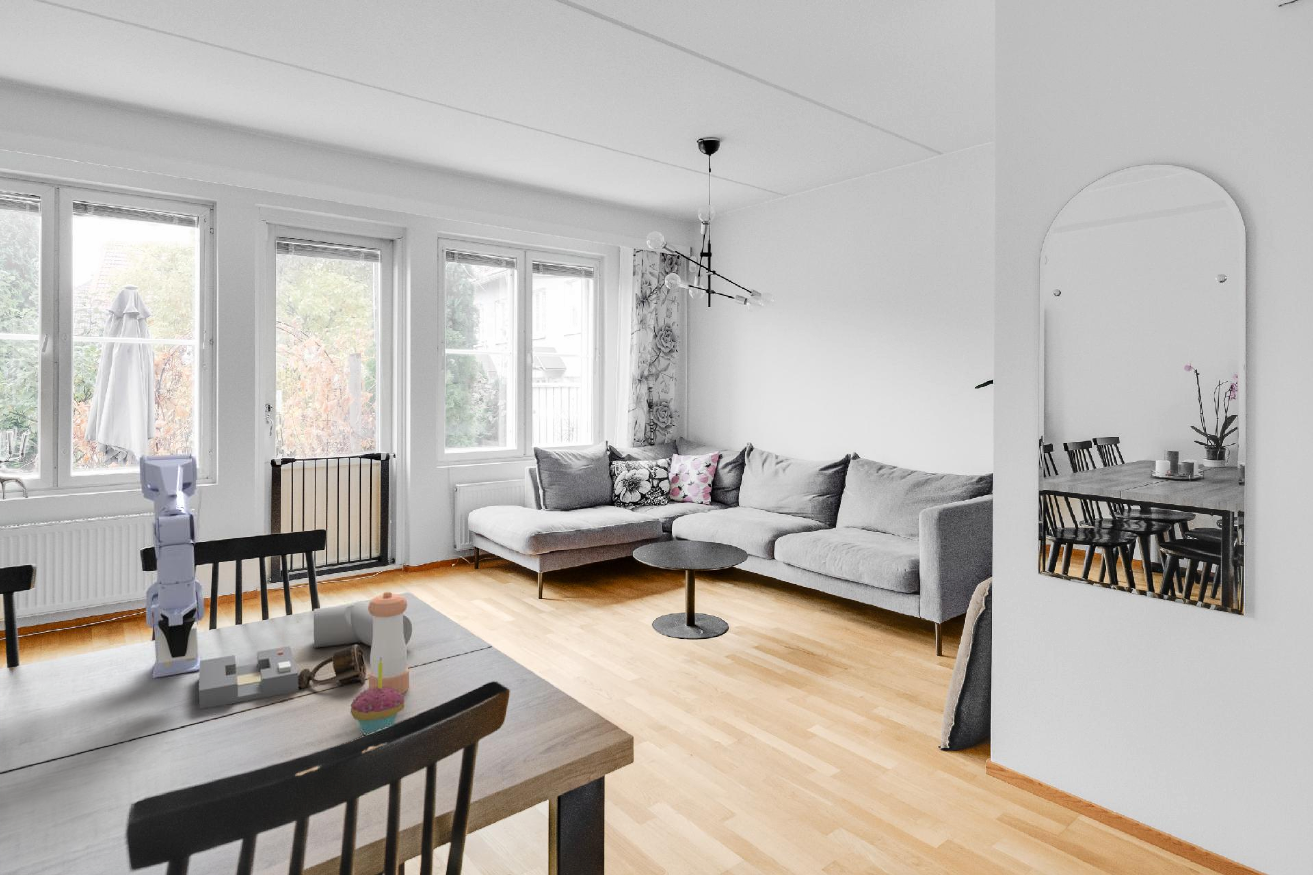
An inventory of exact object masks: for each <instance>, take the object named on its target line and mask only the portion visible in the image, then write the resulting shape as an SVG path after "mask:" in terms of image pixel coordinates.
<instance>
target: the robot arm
mask: <svg viewBox="0 0 1313 875" xmlns="http://www.w3.org/2000/svg"><path fill="white" fill-rule="evenodd" d="M197 465H198V464H197V455H196V454H194V453H192V452H191V453H188V454H187V453H184V454H164V455H163V454H160V455H159V454H158V455H145V454H144V455H141V457H139V476H140V479H139V480H140V484H141V493H142V494H143V498H145V499H147V500H150V501H152V502H153V508H154V509H153V510H154V519H153V520H152V522H151V523H152V540H153V542H152V543H153V547H154V550H155V551H154V552H155V559H156V573H157V575H156V576H157V577H156V578H157V581H155V582H154V583H153V584H151V585H150V586H149V587H147V590H146V592H145V598H146V599H145V617H146V618H145V621H146V626H147V627H149V629H152V628H153V632H154V648H155V649H154V650H155V660H154V668H153V673H152V678H154V679H155V678H161V677H167V676H172V675H179V674H184V673H190V672H196V671H200V661H202V659H201V658H202V653H199V652H198V657H196V660H191V661H186V659H183V660H177V661H171V662H170V667H165V662H164V663H158V644H157V632H158V628H160V629H161V631H162V632H163V634H164V635H165V638H166V640H167V643H168V647H169V651H170V654H171V656H172V658H175V657H182V656H185V655H186V652H187V646H188V638H189V634H190V631H191V628H192V626H193V624H194V622H197V626H198V625H199V621H202V620H203V618H204V617H205V602H204V599H205V598H204V592H203V585H202V584H201V583H200V581H199V580H197V579H196V578H195V577H196V575H195V550H194V549H195V548H194V545H196V541H197V525H196V523H197V522H196V518H195V515H194V513H193V511H192V509H191V503H190V502H191V501H190V497H192V496H194V495H195V491H196V489H197V480H198V466H197ZM191 541H192V542H193V543H191ZM193 544H194V545H193Z"/></svg>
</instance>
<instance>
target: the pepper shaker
mask: <svg viewBox="0 0 1313 875" xmlns="http://www.w3.org/2000/svg"><path fill="white" fill-rule="evenodd" d="M407 602H408V601H407V600H406V598H405V597H404V596H403V595H400V594H397V593H393V592H392V591H390V590H389V591H388V590H387V591H385V592H383V594H380V595H378V596H375V597H374V598H372V599H371V600H370V601H369V602H368V603H369V606H368V610H369V613H370V614H371V615H373V640H372V647H371V646H370V655H369V660H370V672H369V673H368V689H372V688H375V687H378V667H379V662H380V657H382V659H381V662H383V669H382V686H384V687H390V688H394V689H397V691H399V693H402V694H404V693H406V692H407V691H408V690H409V689H410V671H409V670H410V669H409V668H408V667H407V666H408V664H407V661H408V658H407V657H408V651H407V645H405V639H404V634H403V615H404V612H405V611H406V610H407V607H408V603H407Z"/></svg>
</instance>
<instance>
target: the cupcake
mask: <svg viewBox="0 0 1313 875" xmlns="http://www.w3.org/2000/svg"><path fill="white" fill-rule="evenodd" d="M381 659H382V657H380V662H379V667H378V687H375V688H372V689H369V688H367V689H364V690H363V691H362V692H361V691H360V693H359V694H358V695H356V696H355V698H354V699H352V702H351V704H350V707H351V709H350V714H351V716H352V718H353V719H354V720H357V722H358V724H359V725H360V728H361V732H362V734H364V733H365V734H364V735H365V736H367V734H370V733H372V732H376V731H377V730H379V729H383V728H385V727H388V726H390V725H393V726H394V724H395V721H396V719H397V716H398V713H399V712H401V711H403V709H404V708H405V700H404V696H403V693H399V691H397V689H394V688H390V687H384V686H382V669H383V662H381Z"/></svg>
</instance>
